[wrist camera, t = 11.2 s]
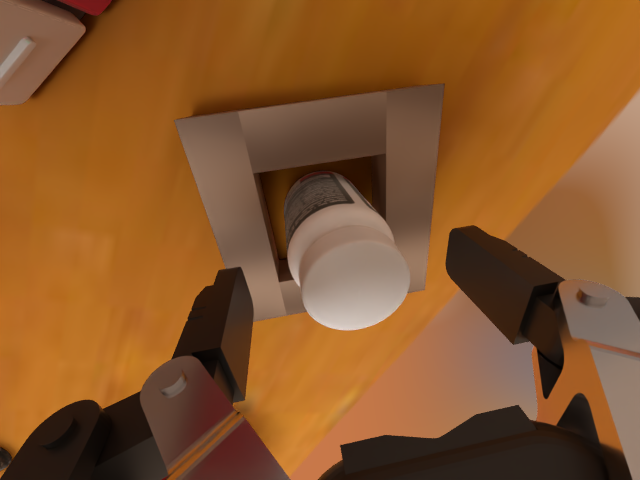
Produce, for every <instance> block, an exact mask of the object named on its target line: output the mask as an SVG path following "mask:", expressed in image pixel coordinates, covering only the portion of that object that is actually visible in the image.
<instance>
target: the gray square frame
mask: <svg viewBox="0 0 640 480" xmlns="http://www.w3.org/2000/svg"><path fill="white" fill-rule="evenodd" d="M443 94H444V84H433V85H420V86H412V87H405V88H397V89H390V90H382V91H375V92H368V93H360V94H353V95H345V96H338V97H330V98H323V99H316V100H308V101H301V102H293V103H286V104H278V105H271V106H264V107H256V108H249V109H241V110H234V111H226V112H219V113H212V114H204V115H197V116H190V117H186V118H181V119H177V120H174V122H175V124H176V127H177V130H178V133H179V136H180V139H181V142H182V144H183V147H184V150H185V153H186V156H187V159H188V162H189V164H190V167H191V170H192V173H193V176H194V179H195V182H196V184H197V187H198V190H199V193H200V196H201V199H202V202H203V204H204V207H205V210H206V213H207V216H208V219H209V222H210V224H211V227H212V230H213V233H214V236H215V239H216V242H217V244H218V247H219V250H220V253H221V256H222V259H223V262H224V264H225V267H226V269H228V268H234V267H241V268H242V270H243V273H244V276H245V279H246V282H247V285H248V288H249V291H250V294H251V297H252V301H253V308H254V317H253V322H254V321H260V320H265V319H270V318H276V317H281V316H287V315H292V314H298V313H303V312H307V310H306V309H305V307H304V304H303V301H302V296H301V289H300V287H299V286H298V284H297V283H296V282H295V280H294V278H293V277H292V274H291V272H290V269H289V265H288V259H283V260H279V258H278V254H277V250H276V245H275V241H274V236H273V232H272V228H271V223H270V219H269V214H268V210H267V206H266V201H265V197H264V193H263V188H262V184H261V179H260V175H259V173H260V172H266V171H273V170H280V169H286V168H293V167H300V166H306V165H313V164H320V163H326V162H333V161H340V160H346V159H353V158H360V157H366V156H371V165H372V207H373V208H374V209H375V210H376V211H377V212H378V213H379V214H380V215H381V217H382V218H383V219H384V220H385V222H386V223H387V225H388V226H389V228H390V230H391V232H392V234H393V238H394V243H395V245H396V247H397V248H398V250H399V251H400V253H401V254H402V256H403V257H404V259H405V260H406V262H407V264H408V267H409V271H410V286H409V289H408V292H407V293H411V292H416V291H422V290H425V282H426V271H427V261H428V251H429V240H430V230H431V219H432V209H433V198H434V188H435V178H436V167H437V157H438V146H439V136H440V125H441V115H442V105H443Z"/></svg>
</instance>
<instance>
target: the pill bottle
mask: <svg viewBox="0 0 640 480" xmlns="http://www.w3.org/2000/svg"><path fill="white" fill-rule="evenodd" d="M284 218H285V230H286V244H287V259H288V265H289V269H290V272H291V274H292V277H293V278H294V280H295V282H296V283H297V284H298V286H299V287H300V289H301V296H302V301H303V304H304V307H305V309H306V310H307V312H308V313H309V314H310V316H311V317H312V318H313V319H315V320H316V321H317V322H319V323H320V324H322V325H324V326H326V327H329V328H333V329H338V330H357V329H362V328H366V327H369V326H372V325H375V324H376V323H379V322H380V321H382V320H384V319H386V318H387V317H388V316H389V315H391V314H392V313H393V312H394V311H395V310H396V309H397V308H398V307H399V306H400V305H401V303H402V302H403V300H404V299H405V297H406V295H407V292H408V289H409V286H410V271H409V267H408V264H407V262H406V260H405V259H404V257H403V256H402V254H401V253H400V251H399V250H398V248H397V247H396V245H395V243H394V238H393V234H392V232H391V230H390V228H389V226H388V225H387V223H386V222H385V220H384V219H383V218H382V217H381V215H380V214H379V213H378V212H377V211H376V210H375V209H374V208H373V207H372V206H371V204H370V203H369V202H368V201H367V200H366V199H365V198H364V197H363V195H362V194H361V193H360V192H359V191H358V190H357V189H356V187H355V186H354V185H353V184H352V182H350V181H349V180H348V179H347V178H345V177H344V176H342V175H340V174H338V173H335V172H331V171H317V172H312V173H309V174H307V175H305V176H303V177H302V178H300V179H299V180H298V181H297V182H296V183H295V184H294V185H293V186H292V187H291V189H290V190H289V192H288V194H287V196H286V199H285V203H284Z"/></svg>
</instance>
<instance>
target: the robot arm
mask: <svg viewBox="0 0 640 480" xmlns="http://www.w3.org/2000/svg"><path fill="white" fill-rule="evenodd" d="M446 270H447V273H448V275H449V276H450V278H451V279H452V280H453V281H454V282H455V283H456V284H457V285H458V286H459V288H460V289H461V290H462V291H463V292H464V293H465V294H466V295H467V296H468V297H469V298H470V299H471V300H472V301H473V302H474V303H475V304H476V306H477V307H478V308H479V309H480V310H481V311H482V312H483V313H484V314H485V315H486V316H487V317H488V318H489V319H490V321H492V323H493V324H494V325H495V326H496V327H497V328H498V329H499V330H500V331H501V332H502V333H503V334H504V335H505V336H506V337H507V338H508V340H509V341H510V342H511V343H512V344H513V345H514V344H519V343H524V342H529V341H530V342H531V343H532V344H533V345H534V347H533V349H532V363H533V371H534V380H535V388H536V397H537V409H538V410H537V418H536V421H533V420H530V419H529V418H528V417H527V416H526V414H525V413H524V412H523V410H521V408H520V407H519V405H516V406H511V407H507V408H503V409H498V410H494V411H489V412H485V413H481V414H476V415H474V416H473V417H471V418H470V419H468V420H467V421H465V422H464V423H462V424H460V425H459V426H457V427H456V428H454V429H453V430H451V431H450V432H448V433H446V434H445V435H443V436H441V437H439V438H433V439H432V438H418V437H405V436H391V435H383V436H379V437H375V438H370V439H366V440H362V441H357V442H353V443H349V444H344V445H341V446H340V447H341V453H342V458H343V460H341V461H340V462H338V463H337V464H335V465H333V466H332V467H331V468H330V469H329V470H327V471H326V472H325V473H324V474H323V475H322V476H321V477H320V478H319V479H318V480H640V298H639V297H624V296H623V295H621V294H620V293H619V292H617V291H615V290H613V289H611V288H609V287H607V286H605V285H602V284H599V283H596V282H592V281H587V280H579V279H572V280H565V279H563V278H562V277H560V276H559V275H557V274H556V273H554V272H552V271H551V270H549V269H548V268H546V267H545V266H543V265H542V264H540V263H539V262H537V261H535V260H534V259H532V258H531V257H527V255H526V254H525V253H523V252H521V251H520V250H519V251H518V250H517V248H515V247H514V246H512V245H511V244H509V243H508V242H506V241H504V240H501V239H499V238H496V237H493V236H490V235H489V234H487V233H486V232H484V231H483V230H481V229H480V228H478V227H477V226H474V225H471V226H466V227H460V228H455V229H452V230H451V232H450V235H449V241H448V249H447V256H446ZM253 317H254V308H253V301H252V297H251V294H250V291H249V288H248V285H247V282H246V279H245V276H244V273H243V270H242V268H241V267H234V268H228V269H223V270H219V271H218V273H217V276H216V279H215V282H214V285H212V286H206V287H205V288H204V289H203V290H202V291H201V292H200V294H199V295H198V296H197V297H196V299H195V301H194V304H193V306H192V311H190V314H189V316H188V321H186V324H185V326H184V329H183V332H182V334H181V337H180V339H179V342H178V344H177V347H176V349H175V352H174V354H173V357H172V359H171V360H170V361H168V362H166V363H164V364H163V365H161V366H160V367H159V368H157V369H156V370H155V371H154V372H153V373H152V374H151V375H150V376H149V378H148V379H147V380H146V382H145V384H144V385H143V387H142V390H141V391H140V392H138V393H136V394H134V395H132V396H130V397H127V398H125V399H123V400H121V401H119V402H117V403H115V404H113V405H111V406H108V407H106V408H104V409H102V408H101V407H100V406H99V405H98V404H97V403H96V402H95V401H93V400H81V401H77V402H74V403H72V404H70V405H67V406H65V407H64V408H62V409H60V410H59V411H57V412H55V413H54V414H53V415H51V416H50V417H49V418H47V419H46V420H45V421H44V422H43V423H41V424H40V425H39V426H38V427H37V428H36V429H35V430H34V431H33V433H32V434H31V435H30V436H29V437H28V439H27V440H26V441H25V443H24V444H23V446H22V447H21V449H20V450H19V452H18V453H17V455H16V456H15V458H14V459H13V461H12V462H11V463H10V465H9V466H8V468H7V469H6V471H5V472H4V474H3V475H2V477H1V478H0V480H162V479H163V478H165V477H167V476H168V477H167V478H166V479H165V480H290V479H289V477H288V476H287V474H286V473H285V472H284V470H283V469H282V468H281V466H280V465H279V464H278V462H277V461H276V460H275V458H274V457H273V455H272V454H271V453H270V451H269V450H268V449H267V447H266V446H265V445H264V443H263V442H262V441H261V439H260V438H259V436H258V435H257V434H256V432H255V431H254V430H253V428H252V427H251V426H250V424H249V423H248V422H247V420H246V419H245V418H244V416H243V415H242V414H241V413H240V412H237V411H236V410H235V409H234V408H233V406H232V405H233V403H234V402H239V401H244V400H245V394H246V384H247V374H248V365H249V355H250V346H251V336H252V327H253Z"/></svg>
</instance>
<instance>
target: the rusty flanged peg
mask: <svg viewBox="0 0 640 480" xmlns="http://www.w3.org/2000/svg"><path fill="white" fill-rule="evenodd" d="M11 460H12V457H11V456H10V454H9V453H8V452H7V451H5V450H4V449H2V448H0V471H1V470H3V469H5V468H6V467H8V465H9V464H10V463H11Z"/></svg>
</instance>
